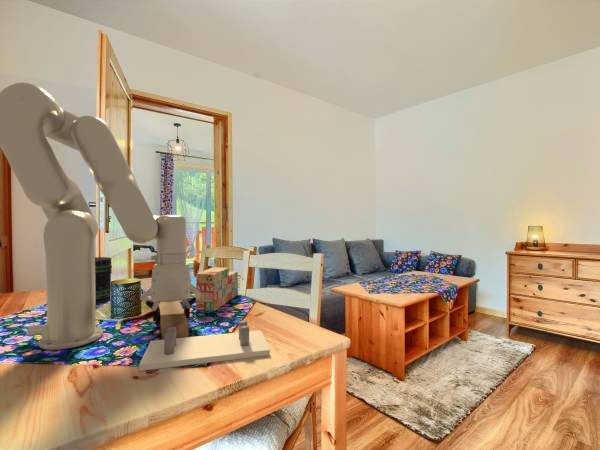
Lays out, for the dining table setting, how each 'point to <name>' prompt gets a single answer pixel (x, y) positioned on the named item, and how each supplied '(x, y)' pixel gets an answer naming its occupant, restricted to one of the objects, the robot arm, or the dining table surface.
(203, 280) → the stack of blocks
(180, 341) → the peg stand
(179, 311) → the shelf board
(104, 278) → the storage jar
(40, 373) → the dining table surface
